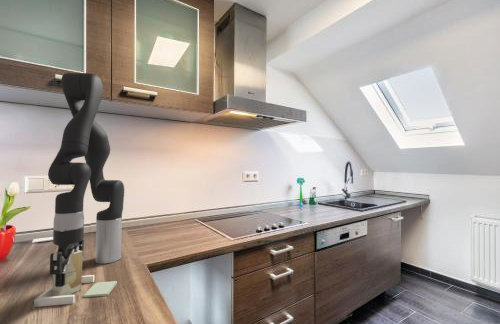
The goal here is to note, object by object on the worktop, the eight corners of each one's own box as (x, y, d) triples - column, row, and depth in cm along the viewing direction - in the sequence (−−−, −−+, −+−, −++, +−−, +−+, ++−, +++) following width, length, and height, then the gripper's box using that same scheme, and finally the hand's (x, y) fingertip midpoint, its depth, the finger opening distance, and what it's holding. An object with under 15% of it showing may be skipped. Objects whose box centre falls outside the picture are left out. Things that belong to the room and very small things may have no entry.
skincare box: (60, 299, 69) (61, 257, 69) (51, 296, 71) (52, 255, 71) (82, 289, 75) (83, 250, 75) (73, 286, 77) (74, 248, 77)
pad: (95, 284, 78) (95, 282, 78) (117, 282, 79) (117, 280, 79) (83, 297, 70) (83, 295, 70) (107, 295, 72) (107, 293, 72)
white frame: (62, 283, 79) (62, 277, 79) (94, 280, 81) (94, 274, 81) (34, 307, 65) (34, 299, 65) (73, 303, 67) (73, 296, 67)
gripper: (68, 221, 80) (67, 270, 79) (39, 233, 66) (37, 293, 65) (93, 220, 81) (91, 269, 81) (70, 232, 67) (68, 290, 67)
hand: (67, 279), depth 73 cm, fingers closed on skincare box, 7 cm apart
